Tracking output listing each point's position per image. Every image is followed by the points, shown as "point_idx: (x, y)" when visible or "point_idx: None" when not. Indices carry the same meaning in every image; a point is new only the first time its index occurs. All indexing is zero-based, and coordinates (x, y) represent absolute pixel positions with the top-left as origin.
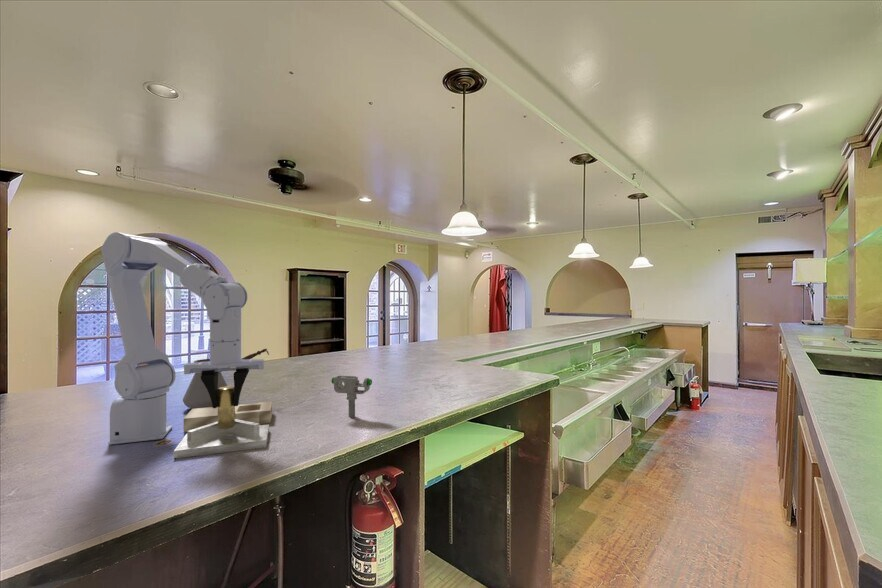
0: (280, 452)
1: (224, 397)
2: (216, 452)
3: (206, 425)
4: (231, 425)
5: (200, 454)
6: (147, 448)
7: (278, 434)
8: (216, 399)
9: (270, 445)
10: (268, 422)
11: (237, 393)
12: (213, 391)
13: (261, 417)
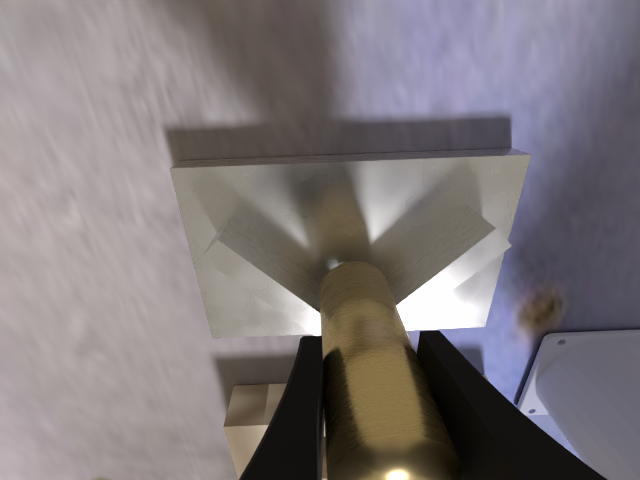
0: (97, 76)
1: (388, 384)
2: (366, 154)
3: (435, 295)
4: (330, 276)
5: (423, 153)
6: (585, 275)
7: (174, 282)
8: (438, 384)
9: (170, 177)
10: (240, 387)
11: (291, 403)
12: (495, 427)
13: (258, 403)
